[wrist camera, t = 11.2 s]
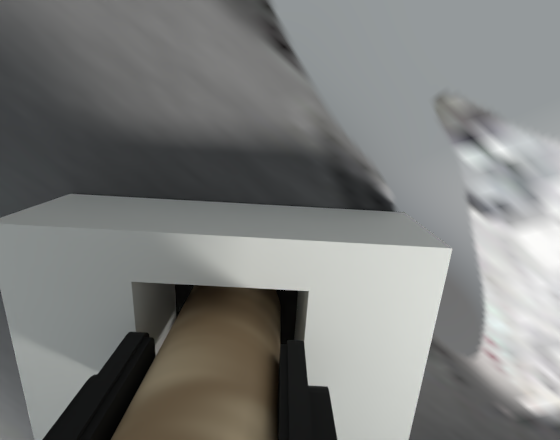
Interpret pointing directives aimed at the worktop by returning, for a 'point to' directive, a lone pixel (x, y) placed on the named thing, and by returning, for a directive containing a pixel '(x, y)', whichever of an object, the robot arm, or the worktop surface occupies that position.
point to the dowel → (213, 371)
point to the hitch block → (227, 273)
